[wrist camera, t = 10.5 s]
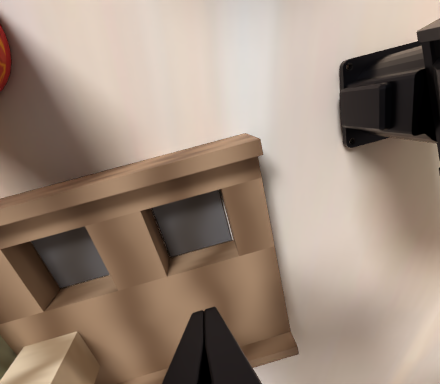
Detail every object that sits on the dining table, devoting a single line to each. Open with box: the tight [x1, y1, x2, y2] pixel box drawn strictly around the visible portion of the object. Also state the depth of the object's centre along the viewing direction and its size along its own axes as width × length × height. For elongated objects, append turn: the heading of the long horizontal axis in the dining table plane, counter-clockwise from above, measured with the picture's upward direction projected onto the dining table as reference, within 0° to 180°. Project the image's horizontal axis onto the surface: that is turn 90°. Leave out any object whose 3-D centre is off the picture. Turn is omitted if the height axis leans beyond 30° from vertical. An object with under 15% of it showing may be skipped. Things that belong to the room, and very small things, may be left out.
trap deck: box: [0, 133, 299, 384], centre depth 18 cm, size 24×20×6 cm
